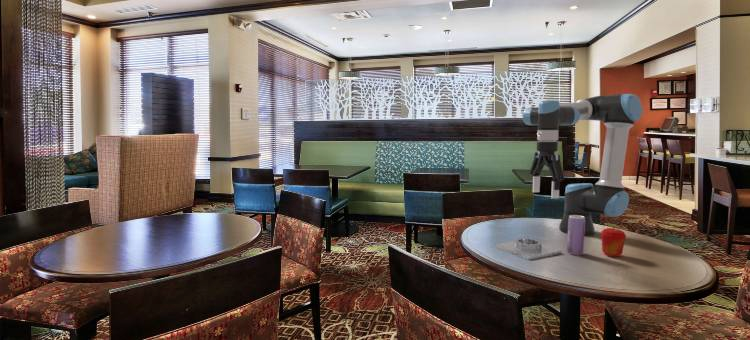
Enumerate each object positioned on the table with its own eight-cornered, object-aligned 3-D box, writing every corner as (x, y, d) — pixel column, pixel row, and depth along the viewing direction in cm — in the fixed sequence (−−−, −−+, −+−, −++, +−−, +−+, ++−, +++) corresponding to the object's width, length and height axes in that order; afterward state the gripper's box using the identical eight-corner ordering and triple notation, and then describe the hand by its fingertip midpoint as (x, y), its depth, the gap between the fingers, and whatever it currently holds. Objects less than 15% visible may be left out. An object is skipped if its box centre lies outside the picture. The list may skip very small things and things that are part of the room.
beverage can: (585, 256, 161) (587, 218, 159) (568, 255, 162) (570, 217, 160) (580, 251, 166) (582, 215, 165) (564, 250, 168) (566, 214, 166)
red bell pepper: (629, 259, 157) (631, 228, 156) (606, 258, 158) (608, 228, 156) (616, 252, 166) (618, 223, 164) (595, 251, 166) (597, 223, 165)
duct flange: (527, 241, 180) (527, 233, 180) (561, 253, 164) (562, 244, 163) (495, 247, 172) (495, 238, 172) (528, 259, 156) (528, 250, 156)
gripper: (522, 139, 171) (520, 190, 174) (557, 142, 147) (554, 201, 149) (539, 139, 172) (537, 189, 175) (576, 142, 148) (573, 200, 150)
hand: (545, 195), depth 162 cm, fingers open, 13 cm apart
